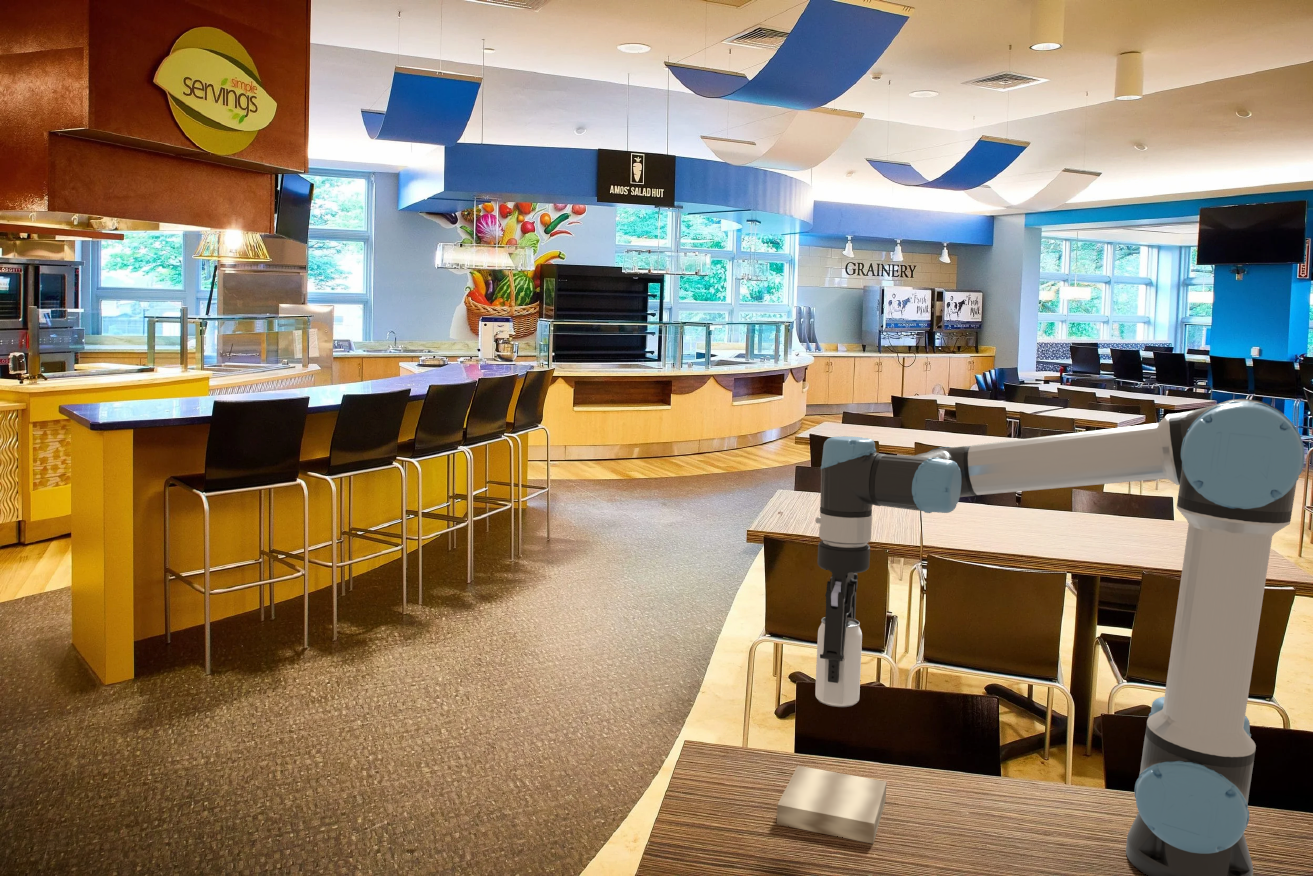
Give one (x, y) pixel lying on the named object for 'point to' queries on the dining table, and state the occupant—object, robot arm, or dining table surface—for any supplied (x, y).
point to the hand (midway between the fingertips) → (837, 693)
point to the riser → (832, 804)
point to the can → (851, 664)
